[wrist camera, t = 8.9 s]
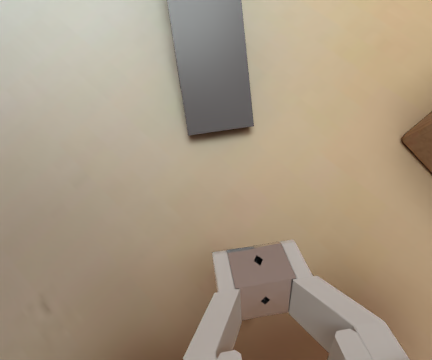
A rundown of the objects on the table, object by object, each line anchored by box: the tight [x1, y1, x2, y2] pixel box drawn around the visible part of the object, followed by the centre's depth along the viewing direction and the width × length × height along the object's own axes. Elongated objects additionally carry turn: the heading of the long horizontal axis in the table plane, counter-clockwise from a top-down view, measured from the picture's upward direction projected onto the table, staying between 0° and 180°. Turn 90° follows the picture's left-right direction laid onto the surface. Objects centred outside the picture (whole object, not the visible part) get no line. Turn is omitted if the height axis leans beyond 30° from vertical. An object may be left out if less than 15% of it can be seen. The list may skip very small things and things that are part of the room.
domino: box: [167, 0, 254, 135], centre depth 20 cm, size 2×5×10 cm
